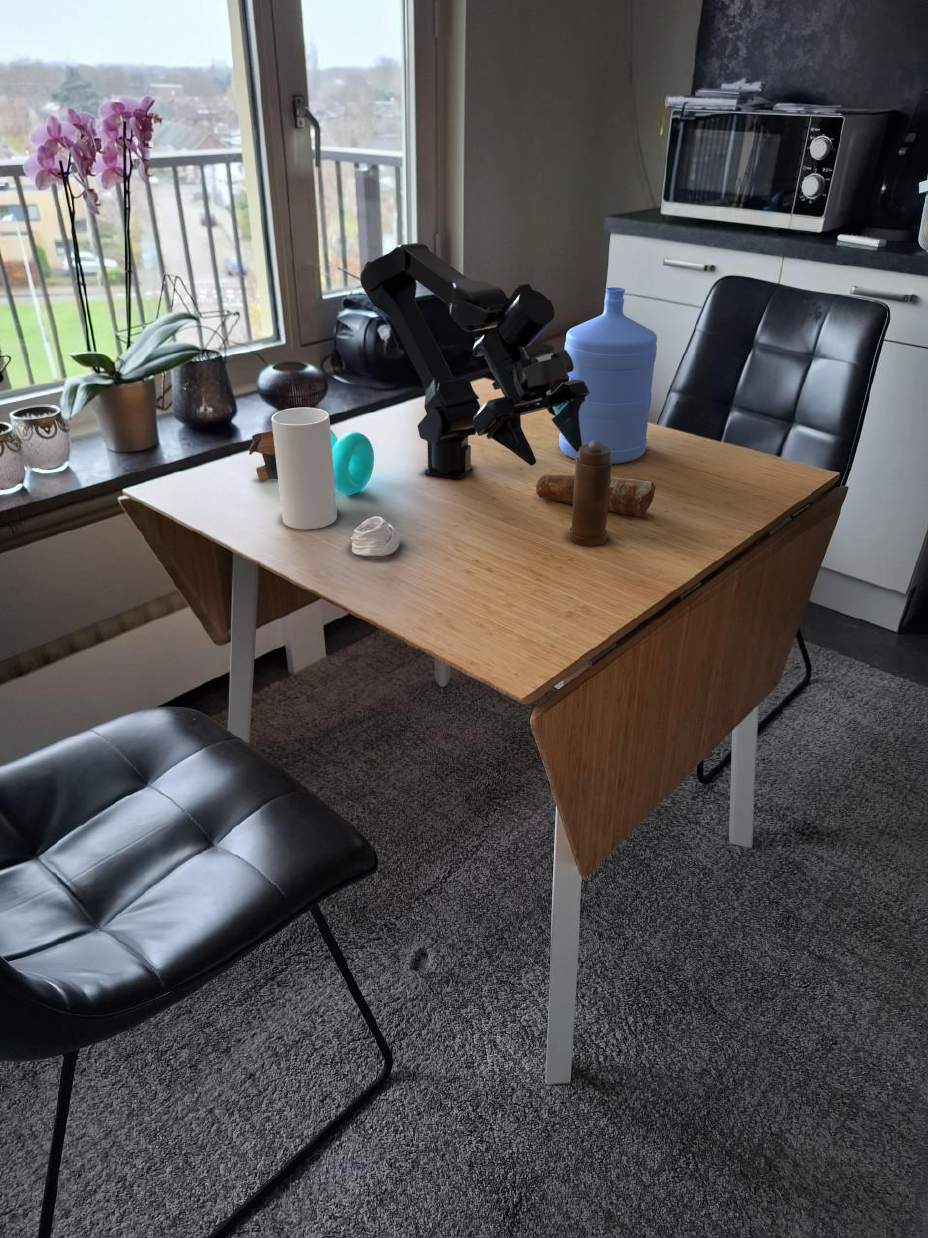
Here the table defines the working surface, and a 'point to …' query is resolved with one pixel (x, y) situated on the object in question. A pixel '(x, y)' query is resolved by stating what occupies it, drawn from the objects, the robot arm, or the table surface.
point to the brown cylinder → (622, 493)
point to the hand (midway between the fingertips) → (557, 457)
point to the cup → (305, 467)
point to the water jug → (613, 380)
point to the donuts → (351, 462)
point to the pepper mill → (591, 494)
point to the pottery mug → (265, 455)
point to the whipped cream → (374, 538)
